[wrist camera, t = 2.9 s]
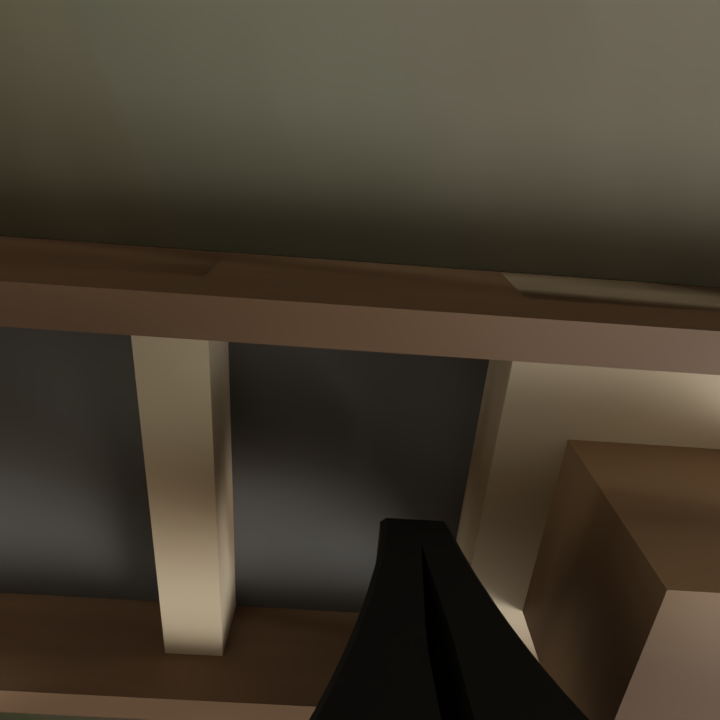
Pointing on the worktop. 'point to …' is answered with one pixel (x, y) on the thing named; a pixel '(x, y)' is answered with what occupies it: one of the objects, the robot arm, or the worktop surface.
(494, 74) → the worktop surface
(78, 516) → the brown wooden open box
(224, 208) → the worktop surface
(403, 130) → the worktop surface
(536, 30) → the worktop surface
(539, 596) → the walnut block
